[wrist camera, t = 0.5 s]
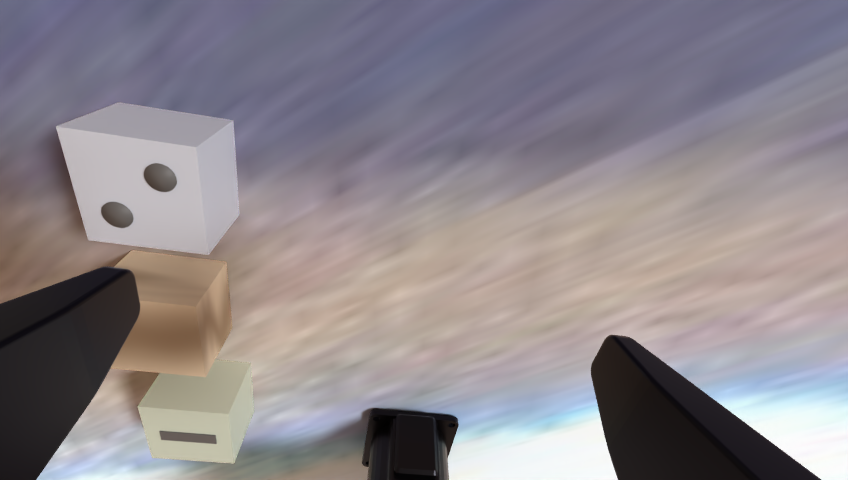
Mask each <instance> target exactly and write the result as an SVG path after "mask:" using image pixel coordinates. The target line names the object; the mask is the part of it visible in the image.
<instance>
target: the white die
mask: <svg viewBox="0 0 848 480" xmlns="http://www.w3.org/2000/svg"><path fill="white" fill-rule="evenodd" d="M56 129H57V132H58V136H59V139H60V143H61V146H62V150H63V153H64V157H65V160H66V164H67V167H68V171H69V174H70V178H71V181H72V185H73V189H74V192H75V196H76V199H77V203H78V206H79V210H80V213H81V217H82V220H83V224H84V227H85V231H86V234H87V238H88V240H90V241H98V242H107V243H115V244H123V245H131V246H139V247H147V248H155V249H164V250H172V251H180V252H188V253H196V254H204V255H209V254H210V252H211V251H212V250H213V249H214V247H215V246H216V245H217V243H218V242H219V241H220V239H221V238H222V237H223V236H224V234H225V233H226V232H227V230H228V229H229V228H230V226H231V225H232V224H233V223H234V221H235V220H236V219H237V217H238V216H239V200H238V185H237V170H236V154H235V139H234V123H233V120H228V119H222V118H215V117H209V116H203V115H196V114H190V113H183V112H177V111H171V110H164V109H158V108H152V107H145V106H139V105H132V104H126V103H120V102H118V103H116V104H113V105H110V106H108V107H105V108H103V109H100V110H97V111H95V112H92V113H90V114H87V115H84V116H82V117H79V118H76V119H74V120H71V121H69V122H66V123H63V124H61V125H58V126H56Z"/></svg>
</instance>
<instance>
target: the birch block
mask: <svg viewBox="0 0 848 480" xmlns="http://www.w3.org/2000/svg"><path fill="white" fill-rule="evenodd" d="M114 267H116V268H123V269H129V270H131V271H132V272H133V274H134V275H135V279H136V285H137V290H138V295H139V301H140V314H139V317H138V319H137V321H136V323H135V325H134V327H133V328H132V330H131V332H130V334H129V336H128V337H127V339H126V341H125V343H124V345H123V346H122V348H121V350H120V352H119V354H118V355H117V357H116V359H115V361H114V363H113V364H112V366H111V369H122V370H133V371H144V372H154V373H165V374H176V375H187V376H198V377H206V376H207V374H208V372H209V370H210V368H211V367H212V365H213V363H214V361H215V359H216V357H217V355H218V354H219V352H220V350H221V348H222V346H223V344H224V342H225V340H226V339H227V337H228V335H229V333H230V331H231V329H232V319H231V307H230V296H229V285H228V273H227V262H226V261H218V260H209V259H201V258H193V257H185V256H177V255H168V254H160V253H152V252H144V251H136V250H131V251H130V252H129V253H128V254H127V255H126V256H125V257H124V258H123V259H122V260H121V261H120V262H118V263H117V264H116V265H115V266H114Z"/></svg>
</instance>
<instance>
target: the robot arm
mask: <svg viewBox="0 0 848 480" xmlns="http://www.w3.org/2000/svg"><path fill="white" fill-rule="evenodd" d="M139 314H140V301H139V295H138V290H137V285H136V279H135V275H134V274H133V272H132V271H131V270H129V269H123V268H116V267H102V268H99V269H96V270H93V271H90V272H88V273H85V274H82V275H79V276H77V277H74V278H71V279H68V280H65V281H63V282H60V283H57V284H54V285H52V286H49V287H46V288H43V289H41V290H38V291H35V292H32V293H29V294H27V295H24V296H21V297H18V298H16V299H13V300H10V301H7V302H4V303H2V304H0V480H36V479H37V478H38V476H39V475H40V473H41V472H42V471H43V469H44V468H45V466H46V465H47V463H48V462H49V461H50V459H51V458H52V456H53V455H54V453H55V452H56V451H57V449H58V448H59V446H60V445H61V443H62V442H63V441H64V439H65V438H66V436H67V435H68V433H69V432H70V431H71V429H72V428H73V426H74V425H75V423H76V422H77V421H78V419H79V418H80V416H81V415H82V414H83V412H84V411H85V409H86V408H87V406H88V405H89V403H90V402H91V400H92V399H93V397H94V396H95V394H96V392H97V391H98V389H99V387H100V386H101V384H102V382H103V381H104V379H105V377H106V375H107V373H108V372H109V370H110V368H111V366H112V364H113V363H114V361H115V359H116V357H117V355H118V354H119V352H120V350H121V348H122V346H123V345H124V343H125V341H126V339H127V337H128V336H129V334H130V332H131V330H132V328H133V327H134V325H135V323H136V321H137V319H138V317H139ZM591 377H592V381H593V386H594V390H595V394H596V399H597V403H598V408H599V412H600V417H601V421H602V426H603V430H604V435H605V439H606V442H607V446H608V450H609V453H610V456H611V460H612V463H613V466H614V469H615V472H616V475H617V478H618V480H821V479H820V478H818V477H817V476H816V475H814V474H813V473H812V472H810V471H809V470H808V469H806V468H805V467H804V466H802V465H801V464H799V463H798V462H797V461H795V460H794V459H793V458H791V457H790V456H789V455H787V454H786V453H785V452H783V451H782V450H781V449H779V448H778V447H777V446H775V445H774V444H773V443H771V442H770V441H769V440H767V439H766V438H765V437H763V436H762V435H761V434H759V433H758V432H757V431H755V430H754V429H753V428H751V427H750V426H749V425H747V424H746V423H745V422H743V421H742V420H741V419H739V418H738V417H736V416H735V415H734V414H732V413H731V412H730V411H728V410H727V409H726V408H724V407H723V406H722V405H720V404H719V403H718V402H716V401H715V400H714V399H712V398H711V397H710V396H708V395H707V394H706V393H704V392H703V391H702V390H700V389H699V388H698V387H696V386H695V385H694V384H692V383H691V382H690V381H688V380H687V379H686V378H684V377H683V376H682V375H680V374H679V373H678V372H676V371H675V370H674V369H672V368H671V367H670V366H668V365H667V364H665V363H664V362H663V361H661V360H660V359H659V358H657V357H656V356H655V355H653V354H652V353H651V352H649V351H648V350H647V349H645V348H644V347H643V346H641V345H640V344H639V343H637V342H636V341H635V340H633V339H632V338H630V337H626V336H618V335H609V336H608V337H607V338H606V339H605V340H604V342H603V344H602V346H601V348H600V349H599V351H598V353H597V355H596V357H595V359H594V360H593V363H592V366H591ZM457 428H458V419H457V418H456V417H454V416H445V415H434V414H422V413H411V412H400V411H389V410H372V411H371V412H370V415H369V422H368V428H367V434H366V440H365V447H364V453H363V460H362V464H363V465H364V466H366V467H369V468H368V479H367V480H449V473H448V459H447V458H448V455H449V452H450V449H451V446H452V443H453V440H454V437H455V434H456V431H457Z"/></svg>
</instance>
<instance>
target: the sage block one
mask: <svg viewBox="0 0 848 480" xmlns="http://www.w3.org/2000/svg"><path fill="white" fill-rule="evenodd" d="M137 407H138V410H139V414H140V417H141V421H142V424H143V428H144V431H145V435H146V438H147V442H148V445H149V449H150V452H151V456H152V458H162V459H176V460H190V461H204V462H218V463H232V464H234V463H235V460H236V458H237V455H238V453H239V450H240V447H241V445H242V442H243V439H244V437H245V434H246V431H247V429H248V426H249V423H250V421H251V418H252V415H253V413H254V402H253V387H252V372H251V363H247V362H237V361H226V360H216V359H215V361H214V363H213V365H212V367H211V368H210V370H209V372H208V374H207V376H206V377H198V376H187V375H176V374H165V373H159V375H158V376H157V378H156V379H155V381H154V382H153V384H152V385H151V387H150V388H149V390H148V391H147V393H146V394H145V396H144V397H143V399H142V400H141V402H140V403H139V405H138V406H137Z"/></svg>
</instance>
